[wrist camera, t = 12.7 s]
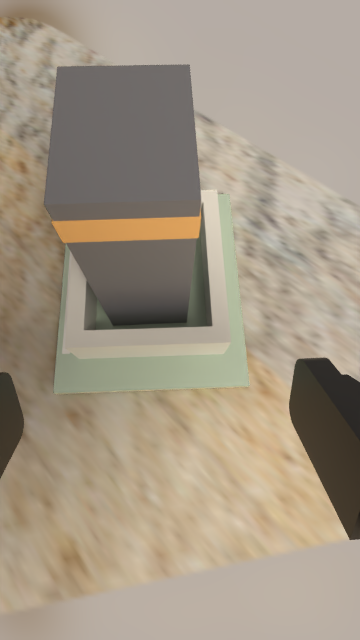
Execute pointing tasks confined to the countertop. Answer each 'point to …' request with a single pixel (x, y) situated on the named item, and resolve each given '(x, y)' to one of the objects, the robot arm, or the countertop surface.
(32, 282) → the countertop surface
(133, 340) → the board
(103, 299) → the plug
